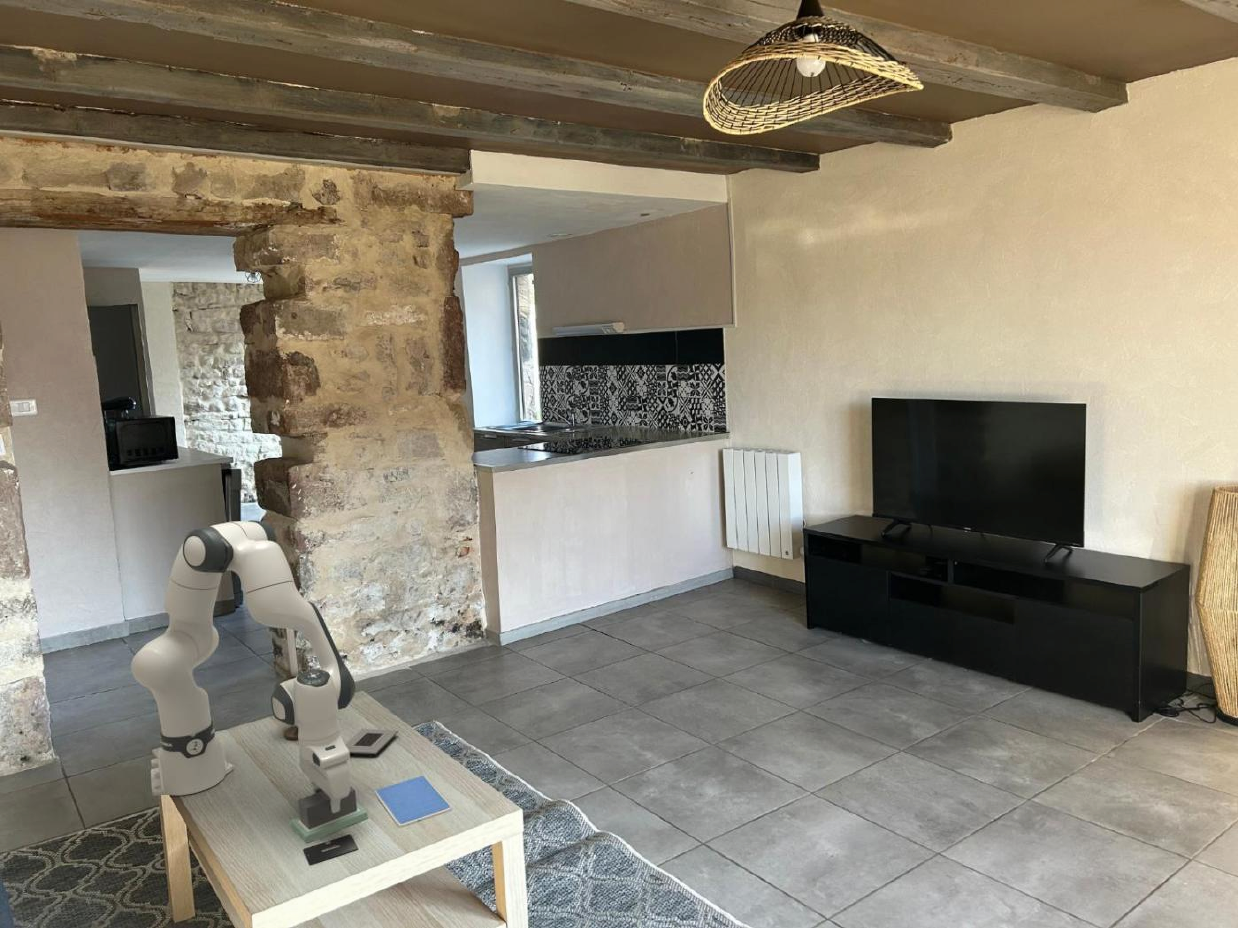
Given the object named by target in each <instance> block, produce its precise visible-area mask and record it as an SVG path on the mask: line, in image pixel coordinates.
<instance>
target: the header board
mask: <svg viewBox="0 0 1238 928" xmlns="http://www.w3.org/2000/svg"><path fill="white" fill-rule="evenodd" d="M356 804H357V811H355V812H353V813H350V814H348V815H345V816H343V817H340V818H338V819H335V820H333V821H330V822H327V823H325V824H322V825H320V826H317V827H315V828H312V829H310V830H309V829H308V828H307V827H306V826H305V825H304V824H303V823H302V822H301V821H300V816H299V817H297V818H294V819H291V820H290V827H291V829H292V830H294V831H295V832H296V833H297V835H298V836H299V837H300V838H301V839H302V840H303V841H304V842H305V843H306V844H308V843H310V842H313V841H315V840H317V839H320V838H322V837H325V836H327V835H329V834H331V833H334V832H335V833H336V832H338V831H340V830H343V829H345V828H348V827H349V826H352V825H354V824H357V823H359V822H362V821H364V820H367V819H368V818H369V816H368V815H369V814H368V811H367V810H366V809H365V808H363V807H362V806H361V805H360V804H359V803H358V802H357V801H356Z"/></svg>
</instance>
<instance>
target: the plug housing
mask: <svg viewBox="0 0 1238 928" xmlns="http://www.w3.org/2000/svg"><path fill="white" fill-rule="evenodd" d="M356 802H357V796H356V789H355V788H354V787H353V786H351V785H350V793H349V795H348V796H347V797H345V798H342V799H341V801H340V811H338V812H336V813H332V812H331V811H330V807H329V804H330V803H331V799H330V797H329V796H328V795H327V794H326V793H325V792H324V791H321V792H318V793H315V794H309V795H307V796H305V797H302V798H300V799H298V800H297V803H298V809H299V817H300V821H301V822H302V823H303V824H304V825H305V826H306V827H307V828H308V829H309V830H310V829H312V828H315V827H317V826H320V825H322V824H325V823H327V822H330V821H333V820H335V819H338V818H340V817H343V816H345V815H348V814H350V813H353V812H355V811H357V804H356Z"/></svg>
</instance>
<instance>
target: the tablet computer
mask: <svg viewBox="0 0 1238 928" xmlns="http://www.w3.org/2000/svg"><path fill="white" fill-rule="evenodd" d="M374 795H375V796H376V798H377V799H378V801H380V803H381V804H382V805H383V807H384V808H385V810H386V811H387V813H388V815H390V817H391V819H392V820H393V821H394V823H395V825H396V826H397V827H398V828H405V827H408V826H410V825H411V826H412V825H414V824H417V823H420V822H422V821H427V820H429V819H431V818H435V817H438V816H441V815H444V814H446V813H450V812H452V810H453V807H452V805H451V804H450V803H449V802H448V801H447V799H446V798H445V797H444V796H443V795H442V794H441V793H440V791H438V789H437V788H436V787H435V786H434V785H433V784H432V782H430V780H429V779H428V778H427V776H425V775H419V776H416V777H413V778H410V779H407V780H404V781H400V782H398V783H394V784H392V785H391V784H390V785H387V786H385V787H381V788H378V789H376V790H375V791H374Z"/></svg>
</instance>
